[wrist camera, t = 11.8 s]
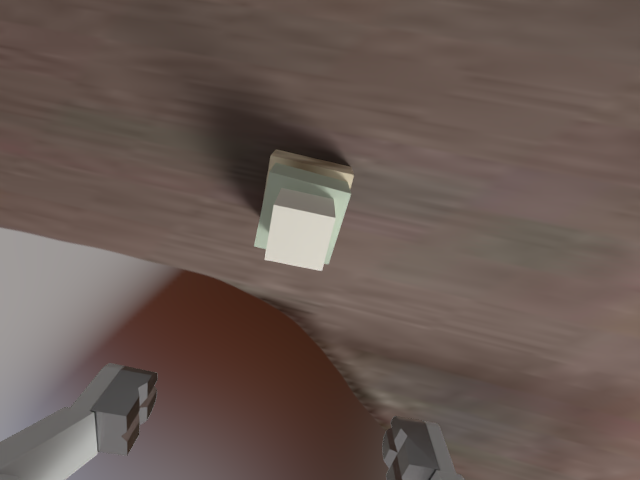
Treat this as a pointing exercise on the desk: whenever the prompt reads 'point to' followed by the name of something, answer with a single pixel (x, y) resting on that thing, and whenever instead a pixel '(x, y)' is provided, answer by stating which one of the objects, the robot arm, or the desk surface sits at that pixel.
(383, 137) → the desk surface
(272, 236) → the cream block
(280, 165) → the green tower middle block
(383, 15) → the desk surface
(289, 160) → the tower base
